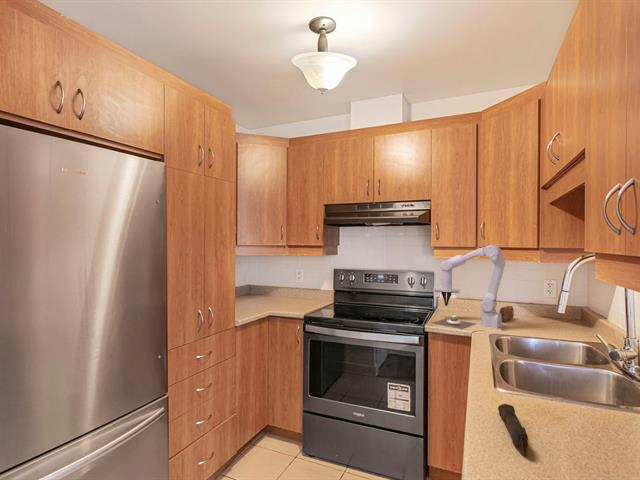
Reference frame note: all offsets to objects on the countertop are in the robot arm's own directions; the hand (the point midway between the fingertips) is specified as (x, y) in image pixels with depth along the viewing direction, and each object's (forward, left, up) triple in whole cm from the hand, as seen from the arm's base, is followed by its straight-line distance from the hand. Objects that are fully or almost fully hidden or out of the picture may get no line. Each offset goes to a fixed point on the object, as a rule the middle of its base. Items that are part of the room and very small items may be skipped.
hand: (446, 305), depth 210 cm
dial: (-6, +3, -8) cm, 11 cm away
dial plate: (-7, +5, -9) cm, 13 cm away
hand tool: (-70, +101, -10) cm, 123 cm away
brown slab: (-22, -30, -10) cm, 38 cm away
